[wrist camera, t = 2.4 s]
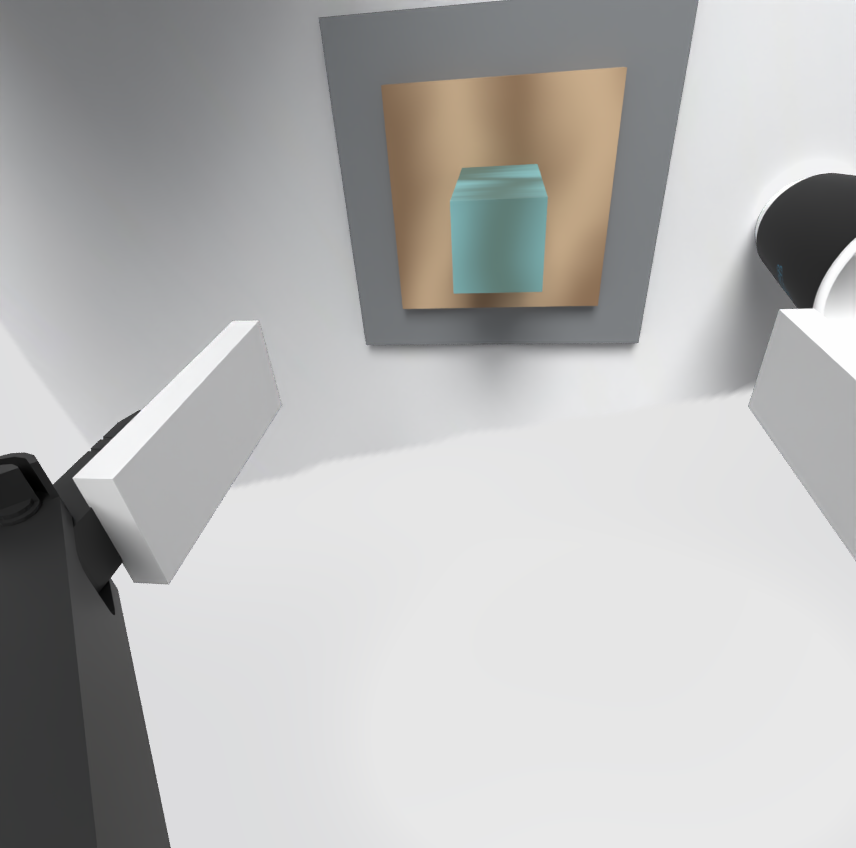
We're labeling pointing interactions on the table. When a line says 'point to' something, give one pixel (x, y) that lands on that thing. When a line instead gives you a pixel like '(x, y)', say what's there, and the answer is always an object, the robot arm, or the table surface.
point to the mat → (500, 56)
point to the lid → (503, 187)
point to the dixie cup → (814, 245)
